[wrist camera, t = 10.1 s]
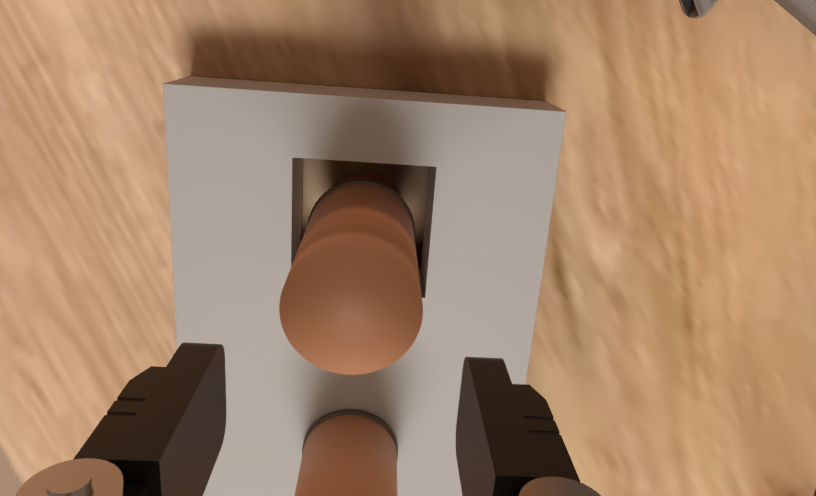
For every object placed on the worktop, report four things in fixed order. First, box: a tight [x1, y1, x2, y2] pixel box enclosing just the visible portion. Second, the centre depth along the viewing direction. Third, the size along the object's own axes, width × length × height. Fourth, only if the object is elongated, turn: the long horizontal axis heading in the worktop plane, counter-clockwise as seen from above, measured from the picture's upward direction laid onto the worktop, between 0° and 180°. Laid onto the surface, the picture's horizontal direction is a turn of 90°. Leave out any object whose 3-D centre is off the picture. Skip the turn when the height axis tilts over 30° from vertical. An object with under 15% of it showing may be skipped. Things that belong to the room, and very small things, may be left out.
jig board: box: [163, 76, 566, 496], centre depth 22 cm, size 18×13×10 cm
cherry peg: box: [279, 173, 423, 375], centre depth 21 cm, size 4×4×10 cm
